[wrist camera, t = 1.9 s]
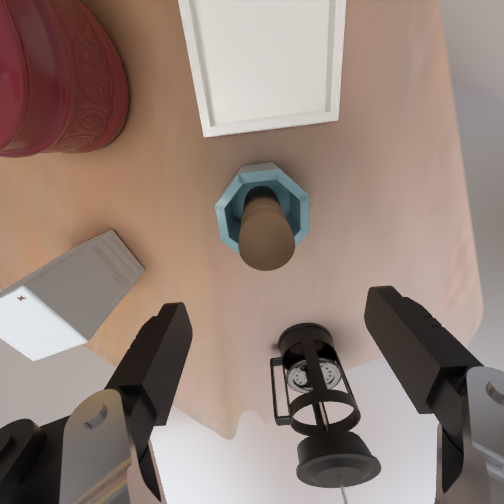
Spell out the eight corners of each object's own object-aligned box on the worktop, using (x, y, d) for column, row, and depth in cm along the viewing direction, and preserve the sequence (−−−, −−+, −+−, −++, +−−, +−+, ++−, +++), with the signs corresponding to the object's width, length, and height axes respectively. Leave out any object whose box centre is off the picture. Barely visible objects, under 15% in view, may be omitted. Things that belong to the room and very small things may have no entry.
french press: (334, 318, 35) (446, 560, 15) (335, 355, 40) (423, 583, 19) (264, 328, 36) (280, 566, 16) (273, 363, 41) (293, 586, 20)
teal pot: (220, 168, 25) (208, 177, 18) (295, 159, 24) (309, 165, 18) (231, 236, 29) (225, 263, 22) (296, 229, 28) (308, 255, 22)
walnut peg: (242, 187, 25) (234, 222, 14) (276, 183, 25) (294, 216, 14) (246, 220, 27) (242, 273, 16) (278, 216, 26) (295, 268, 16)
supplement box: (70, 247, 29) (-42, 312, 18) (113, 227, 28) (21, 284, 17) (107, 287, 33) (31, 364, 21) (147, 271, 31) (88, 344, 20)
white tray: (168, -84, 16) (155, -120, 14) (341, -116, 16) (356, -159, 13) (208, 137, 23) (203, 137, 21) (329, 122, 22) (338, 120, 20)
